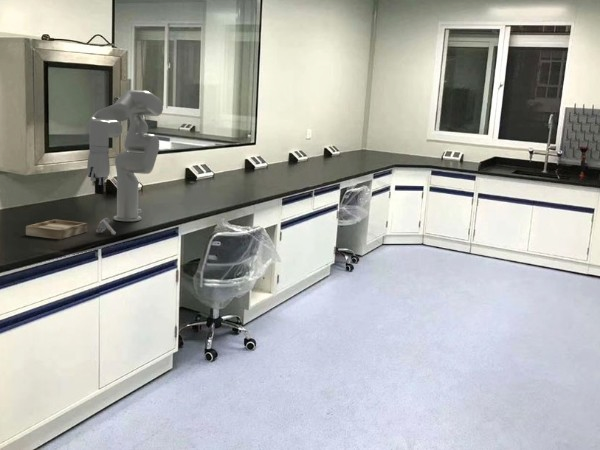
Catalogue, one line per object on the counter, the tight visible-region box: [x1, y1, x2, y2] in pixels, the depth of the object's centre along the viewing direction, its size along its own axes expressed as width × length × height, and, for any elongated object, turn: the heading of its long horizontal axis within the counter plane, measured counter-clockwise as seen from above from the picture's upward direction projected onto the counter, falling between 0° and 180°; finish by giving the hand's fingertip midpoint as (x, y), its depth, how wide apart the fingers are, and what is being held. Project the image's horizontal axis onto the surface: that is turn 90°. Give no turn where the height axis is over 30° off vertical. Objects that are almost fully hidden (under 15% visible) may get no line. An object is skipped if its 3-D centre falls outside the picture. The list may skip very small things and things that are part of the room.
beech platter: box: [25, 219, 88, 240], centre depth 247 cm, size 18×16×4 cm
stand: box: [96, 217, 117, 236], centre depth 251 cm, size 8×5×8 cm
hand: (99, 193), depth 251 cm, fingers closed
